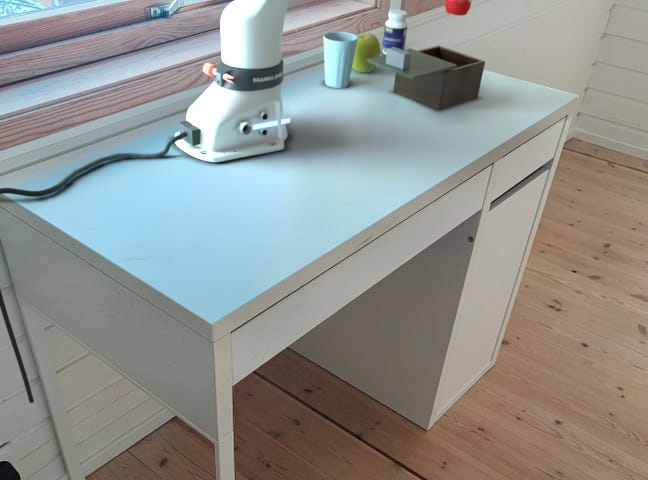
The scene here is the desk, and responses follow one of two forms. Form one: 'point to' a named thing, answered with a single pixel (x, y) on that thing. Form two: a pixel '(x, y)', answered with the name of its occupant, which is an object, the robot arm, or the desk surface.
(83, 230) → the desk surface
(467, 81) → the wooden box
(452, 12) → the beverage can
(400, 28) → the pill bottle
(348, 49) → the cup
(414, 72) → the slide lid
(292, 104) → the desk surface
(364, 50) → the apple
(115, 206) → the desk surface
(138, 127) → the desk surface
